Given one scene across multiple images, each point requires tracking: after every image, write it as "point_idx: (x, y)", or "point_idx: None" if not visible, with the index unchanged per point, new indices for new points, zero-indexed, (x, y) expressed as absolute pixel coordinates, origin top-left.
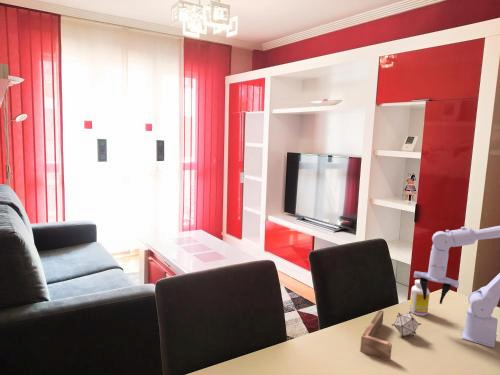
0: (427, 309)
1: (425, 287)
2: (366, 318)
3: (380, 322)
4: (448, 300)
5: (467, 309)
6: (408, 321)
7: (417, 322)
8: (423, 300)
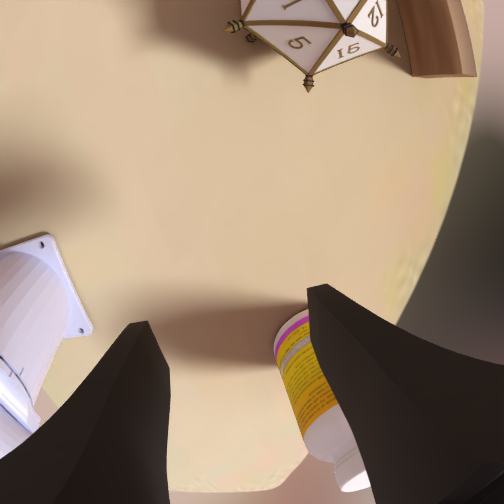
0: (278, 363)
1: (424, 390)
2: (465, 90)
3: (421, 23)
4: (246, 466)
5: (18, 389)
6: None
7: (253, 21)
8: (317, 378)
